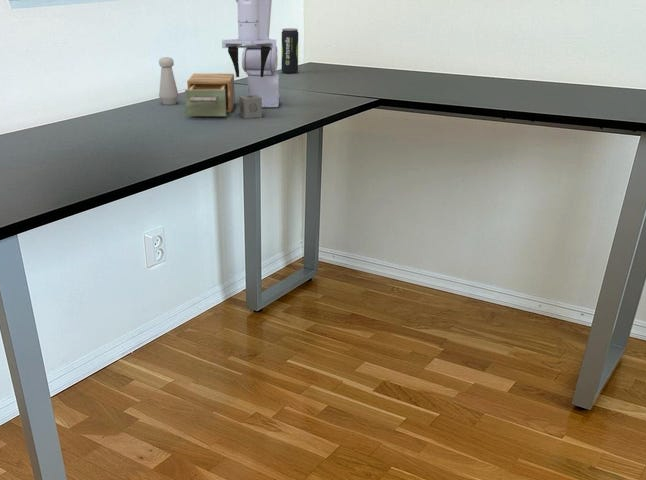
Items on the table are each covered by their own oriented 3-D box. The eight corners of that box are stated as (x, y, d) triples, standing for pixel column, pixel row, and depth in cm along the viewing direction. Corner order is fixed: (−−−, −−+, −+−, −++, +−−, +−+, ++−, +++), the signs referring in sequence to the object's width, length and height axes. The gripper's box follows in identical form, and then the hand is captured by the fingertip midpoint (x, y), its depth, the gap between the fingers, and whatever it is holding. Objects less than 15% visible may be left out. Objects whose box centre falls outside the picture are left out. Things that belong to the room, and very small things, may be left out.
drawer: (224, 120, 189) (223, 93, 186) (184, 120, 189) (182, 93, 186) (229, 107, 204) (228, 82, 201) (192, 107, 205) (191, 82, 201)
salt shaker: (175, 105, 211) (171, 59, 205) (157, 105, 212) (153, 58, 206) (181, 102, 216) (178, 56, 210) (163, 101, 217) (160, 56, 211)
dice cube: (256, 113, 201) (256, 95, 198) (261, 116, 197) (261, 98, 194) (239, 114, 199) (239, 96, 197) (244, 118, 195) (244, 99, 193)
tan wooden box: (231, 112, 202) (229, 81, 198) (189, 112, 202) (187, 81, 198) (234, 103, 214) (233, 73, 209) (195, 103, 214) (193, 73, 210)
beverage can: (280, 73, 264) (280, 29, 256) (282, 71, 269) (282, 28, 261) (296, 74, 263) (297, 30, 255) (299, 71, 268) (299, 28, 260)
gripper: (219, 23, 183) (222, 78, 189) (275, 22, 182) (275, 78, 189) (222, 20, 189) (224, 74, 196) (276, 20, 188) (276, 74, 195)
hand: (249, 76), depth 193 cm, fingers open, 6 cm apart
